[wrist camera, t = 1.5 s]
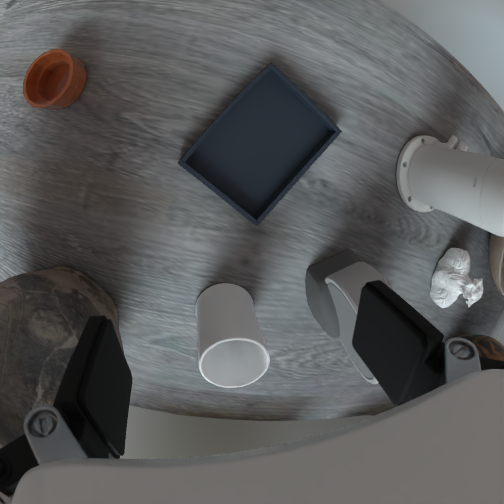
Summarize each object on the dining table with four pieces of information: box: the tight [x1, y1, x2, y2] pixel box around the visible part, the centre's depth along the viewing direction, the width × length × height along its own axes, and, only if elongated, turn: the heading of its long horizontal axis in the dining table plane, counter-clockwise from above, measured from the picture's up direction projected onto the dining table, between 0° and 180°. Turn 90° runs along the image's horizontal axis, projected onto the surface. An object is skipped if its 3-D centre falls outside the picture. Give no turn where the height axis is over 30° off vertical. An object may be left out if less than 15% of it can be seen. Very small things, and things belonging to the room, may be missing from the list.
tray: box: [178, 63, 342, 226], centre depth 33 cm, size 16×12×2 cm
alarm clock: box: [305, 249, 393, 384], centre depth 36 cm, size 16×10×18 cm, turn 20°
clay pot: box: [0, 266, 124, 448], centre depth 24 cm, size 22×23×30 cm
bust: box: [430, 248, 483, 308], centre depth 44 cm, size 12×8×11 cm
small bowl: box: [23, 49, 86, 110], centre depth 23 cm, size 7×7×5 cm
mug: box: [195, 283, 270, 388], centre depth 37 cm, size 12×8×12 cm
